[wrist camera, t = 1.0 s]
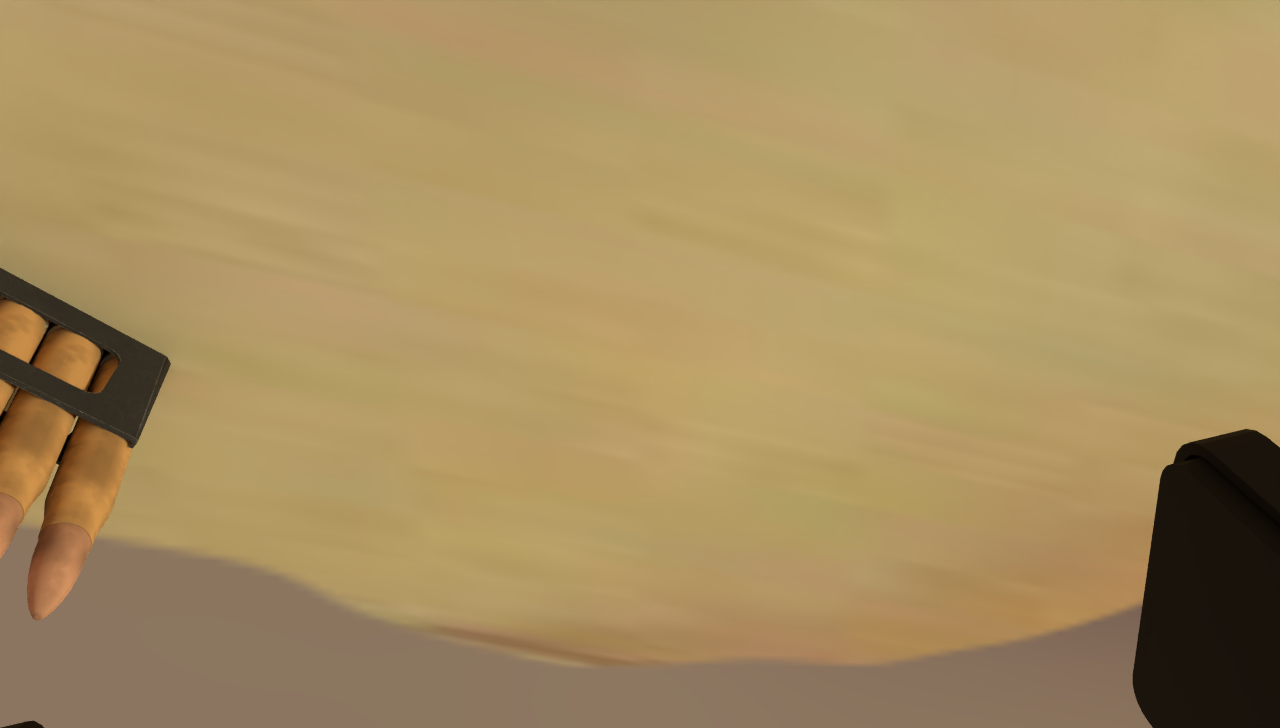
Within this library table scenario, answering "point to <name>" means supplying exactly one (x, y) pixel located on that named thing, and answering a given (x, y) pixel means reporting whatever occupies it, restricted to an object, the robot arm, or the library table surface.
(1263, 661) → the robot arm
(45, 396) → the ammunition clip
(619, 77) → the library table surface
